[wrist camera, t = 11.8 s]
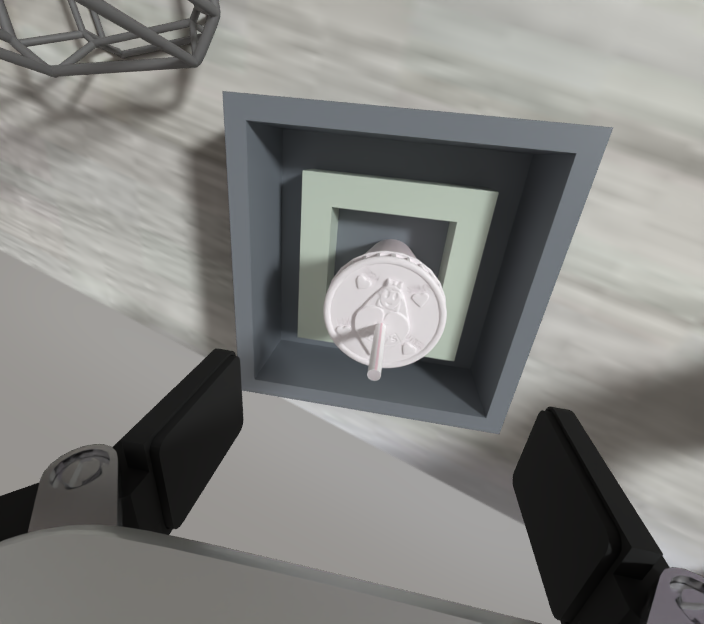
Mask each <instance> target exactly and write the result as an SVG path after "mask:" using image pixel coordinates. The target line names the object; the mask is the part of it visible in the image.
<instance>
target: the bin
mask: <svg viewBox="0 0 704 624" xmlns="http://www.w3.org/2000/svg"><path fill="white" fill-rule="evenodd" d="M223 109H224V126H225V144H226V162H227V180H228V197H229V215H230V233H231V251H232V269H233V286H234V304H235V322H236V340H237V357H239V358H240V366H241V386H242V390H243V391H249V392H255V393H260V394H266V395H272V396H278V397H284V398H290V399H296V400H301V401H307V402H313V403H319V404H325V405H331V406H337V407H343V408H348V409H354V410H360V411H366V412H372V413H378V414H384V415H389V416H395V417H401V418H407V419H413V420H419V421H425V422H431V423H436V424H442V425H448V426H454V427H460V428H466V429H472V430H477V431H483V432H489V433H495V434H500V431H501V428H502V426H503V423H504V420H505V417H506V415H507V412H508V409H509V407H510V404H511V401H512V399H513V396H514V393H515V391H516V388H517V385H518V382H519V380H520V377H521V374H522V372H523V369H524V366H525V364H526V361H527V358H528V356H529V353H530V350H531V347H532V345H533V342H534V339H535V337H536V334H537V331H538V329H539V326H540V323H541V321H542V318H543V315H544V312H545V310H546V307H547V304H548V302H549V299H550V296H551V294H552V291H553V288H554V286H555V283H556V280H557V278H558V275H559V272H560V269H561V267H562V264H563V261H564V259H565V256H566V253H567V251H568V248H569V245H570V243H571V240H572V237H573V234H574V232H575V229H576V226H577V224H578V221H579V218H580V216H581V213H582V210H583V208H584V205H585V202H586V199H587V197H588V194H589V191H590V189H591V186H592V183H593V181H594V178H595V175H596V173H597V170H598V167H599V164H600V162H601V159H602V156H603V154H604V151H605V148H606V146H607V143H608V140H609V138H610V135H611V132H612V129H613V127H602V126H591V125H580V124H570V123H559V122H548V121H537V120H527V119H516V118H505V117H495V116H484V115H473V114H462V113H452V112H441V111H430V110H419V109H409V108H398V107H387V106H377V105H366V104H355V103H344V102H334V101H323V100H312V99H301V98H291V97H280V96H269V95H259V94H248V93H237V92H226V91H223ZM386 239H395V240H399V241H401V242H403V243H405V244H406V245H407V246H408V247H409V248H410V249H411V251H412V252H413V254H414V255H415V257H416V258H417V259H418V260H419V261H421V262H422V263H423V264H424V265H426V266H427V267H428V268H430V269H431V270H432V272H433V273H434V274H435V276H436V277H437V279H438V280H439V281H440V283H441V286H442V289H443V291H444V294H445V297H446V309H447V318H446V324H445V328H444V331H443V334H442V336H441V338H440V340H439V341H438V343H437V344H436V345H435V347H434V348H433V349H432V350H431V351H430V352H429V353H428V354H426V355H425V356H424V357H422V358H421V359H419V360H417V361H415V362H413V363H411V364H408V365H405V366H401V367H395V368H382V370H381V377H380V379H379V380H376V381H373V380H370V379H369V378H368V376H367V372H368V365H365V364H362V363H360V362H357V361H355V360H354V359H352V358H350V357H349V356H347V355H346V354H345V353H343V352H342V351H341V350H340V349H339V348H338V347H337V346H336V344H335V343H334V342H333V340H332V339H331V337H330V335H329V333H328V331H327V328H326V325H325V321H324V312H323V309H324V301H325V297H326V294H327V291H328V288H329V286H330V283H331V281H332V279H333V278H334V276H335V275H336V274H337V272H338V271H339V270H340V268H341V267H343V266H344V265H345V264H347V263H348V262H349V261H351V260H352V259H353V258H356V257H358V256H361V255H363V254H365V253H366V252H367V251H368V250H369V249H371V248H372V247H373V246H374V245H375V244H376V243H378V242H380V241H382V240H386Z"/></svg>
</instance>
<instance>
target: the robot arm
mask: <svg viewBox="0 0 704 624" xmlns="http://www.w3.org/2000/svg"><path fill="white" fill-rule="evenodd" d="M242 425H243V406H242V386H241V366H240V358H239V357H237V356H236V355H235V352H233V351H229V350H223V349H214V350H213V351H212V352H211V353H210V354H209V355H208V356H207V357H206V358H205V359H204V360H203V361H202V362H201V363H200V364H199V365H198V366H197V367H196V368H195V369H193V370H192V371H191V372H190V373H189V374H188V375H187V376H186V377H185V378H184V379H183V380H182V381H181V382H180V383H179V384H178V385H177V386H176V387H175V388H173V389H172V390H171V391H170V392H169V393H168V394H167V395H166V396H165V397H164V398H163V399H162V400H161V401H160V402H159V403H158V404H157V405H156V406H155V407H154V408H153V409H152V410H151V411H150V412H149V413H148V414H146V415H145V416H144V417H143V418H142V419H141V420H140V421H139V422H138V423H137V424H136V425H135V426H134V427H133V428H132V429H131V430H130V431H129V432H128V433H127V434H126V435H125V436H124V437H123V438H122V439H121V440H120V441H118V442H117V443H116V444H115V445H114V446H113V447H111V446H107V445H104V444H93V445H87V446H83V447H80V448H77V449H74V450H72V451H70V452H68V453H66V454H64V455H62V456H60V457H59V458H58V459H57V460H55V461H54V462H53V463H51V464H50V466H49V467H48V468H47V469H46V470H45V471H44V473H43V475H42V477H41V479H40V482H39V483H37V484H34V485H31V486H28V487H25V488H22V489H19V490H16V491H13V492H11V493H8V494H5V495H2V496H0V624H540V623H537V622H533V621H529V620H525V619H521V618H516V617H513V616H509V615H504V614H501V613H497V612H493V611H488V610H485V609H480V608H476V607H472V606H468V605H464V604H460V603H456V602H451V601H448V600H443V599H440V598H435V597H431V596H427V595H423V594H419V593H415V592H411V591H407V590H403V589H398V588H394V587H390V586H386V585H382V584H378V583H373V582H369V581H365V580H361V579H357V578H352V577H348V576H344V575H340V574H336V573H332V572H327V571H323V570H319V569H315V568H310V567H306V566H302V565H298V564H293V563H289V562H285V561H281V560H277V559H272V558H268V557H263V556H259V555H255V554H251V553H246V552H242V551H238V550H233V549H229V548H225V547H221V546H217V545H212V544H208V543H203V542H198V541H194V540H189V539H184V538H179V537H175V536H170V535H169V534H170V533H171V531H172V529H177V528H178V527H180V526H181V524H182V523H183V521H184V520H185V518H186V517H187V515H188V513H189V512H190V510H191V509H192V507H193V506H194V504H195V502H196V501H197V499H198V498H199V496H200V495H201V493H202V491H203V490H204V488H205V487H206V485H207V483H208V482H209V480H210V479H211V477H212V475H213V474H214V472H215V471H216V469H217V467H218V466H219V464H220V463H221V461H222V460H223V458H224V456H225V455H226V453H227V452H228V450H229V448H230V447H231V445H232V444H233V442H234V440H235V439H236V437H237V436H238V434H239V433H240V431H241V428H242ZM513 487H514V491H515V494H516V497H517V500H518V504H519V507H520V510H521V513H522V517H523V520H524V523H525V526H526V529H527V533H528V536H529V539H530V543H531V546H532V549H533V552H534V555H535V559H536V562H537V565H538V569H539V572H540V575H541V578H542V582H543V585H544V588H545V591H546V595H547V598H548V601H549V605H550V608H551V611H552V613H553V615H554V617H555V618H556V619H557V620H560V621H561V624H704V578H703V577H702V576H700V575H698V574H696V573H694V572H691V571H688V570H686V569H683V568H676V567H671V568H670V567H669V566H668V564H667V562H666V561H665V559H664V558H663V556H662V555H663V553H662V552H661V550H660V549H659V547H658V545H657V544H656V542H655V541H654V539H653V537H652V536H651V534H650V533H649V531H648V530H647V528H646V526H645V525H644V523H643V522H642V520H641V519H640V517H639V515H638V514H637V512H636V511H635V509H634V507H633V506H632V504H631V503H630V501H629V500H628V498H627V496H626V495H625V493H624V492H623V490H622V488H621V487H620V485H619V484H618V482H617V481H616V479H615V477H614V476H613V474H612V473H611V471H610V469H609V468H608V466H607V465H606V463H605V462H604V460H603V458H602V457H601V455H600V454H599V452H598V451H597V449H596V447H595V446H594V444H593V443H592V441H591V439H590V438H589V436H588V435H587V433H586V432H585V430H584V428H583V427H582V425H581V424H580V422H579V420H578V419H577V417H576V416H575V414H574V413H573V412H572V411H570V410H566V409H560V408H555V407H548V408H547V409H546V410H545V411H543V410H542V411H540V412H539V414H538V416H537V419H536V421H535V424H534V426H533V428H532V431H531V433H530V435H529V438H528V440H527V443H526V445H525V447H524V450H523V452H522V454H521V457H520V459H519V461H518V464H517V466H516V469H515V471H514V474H513Z"/></svg>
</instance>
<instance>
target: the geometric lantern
mask: <svg viewBox="0 0 704 624" xmlns="http://www.w3.org/2000/svg"><path fill="white" fill-rule="evenodd" d="M75 1H76V2H78V3H79V4H81V5H83V6H85V7H86V8H88V9H90V11H91V14H92V17H93V20H94V23H95V26H96V29H97V32H98V35H99V36H97V35H95V34H93V33H91V32H89V31H87V30H85V27H84V24H83V22H82V19H81V16H80V13H79V11H78V8H77V5H76V2H75ZM188 1H190V2H191V3H193V4H194V9H193V11H192V14H191V17H190V19H185V20H180V21H176V22H171V23H167V24H162V25H157V26H153V27H148V28H147V27H146V26H144V25H142V24H141V23H139V22H138V21H136V20H134V19H133V18H131V17H129V16H128V15H126V14H125V13H123V12H121V11H120V10H118V9H117V8H115V7H113V6H112V5H110V4H108V3H107V2H105V1H104V0H68V3H69V5H70V8H71V11H72V13H73V16H74V19H75V21H76V24H77V27H78V30H79V31H73V32H66V33H59V34H53V35H46V36H39V37H33V38H26V39H19V40H18V39H17V38H16V35H15V32H14V29H13V26H12V24H11V21H10V18H9V15H8V12H7V9H6V7H5V4H4V1H3V0H0V26H1V29H0V40H3V41H5V42H8V43H9V44H10V45H11V46H12V47H13V48H15V49H16V50H17V51H18V52H19V53H20V54H22V55H23V56H22V55H20V54H17V53H14V52H11V51H9V50H6V49H3V48H1V47H0V59H2V60H5V61H8V62H11V63H14V64H16V65H19V66H22V67H25V68H28V69H31V70H34V71H37V72H40V73H43V74H46V75H49V76H51V77H55V78H56V77H59V76H73V75H89V74H104V73H119V72H134V71H150V70H165V69H180V68H196V67H198V66H199V65H200V64H201V63H202V61H203V59H204V57H205V55H206V52H207V50H208V48H209V45H210V43H211V40H212V38H213V35H214V33H215V30H216V28H217V25H218V22H219V19H220V6H219V0H188ZM200 12H201V13H203V14H206V15H208V18H207V21H206V23H205V26H204V27H203V26H201V25H200V24H198V23H197V20H198V17H199V14H200ZM98 14H99V15H101V16H102V17H104V18H106V19H108V20H110V21H111V22H113V23H115V24H117V25H118V26H120V27H122V28H124V29H126V30H127V31H129V32H126V33H121V34H117V35H112V36H108V37H105V34H104V31H103V28H102V25H101V22H100V19H99V16H98ZM187 27H190V36H188V37H183V38H179V39H174V40H170V41H168V40H167V39H165V38H163V37H162V36H160V35H159V33H164V32H168V31H173V30H178V29H182V28H187ZM196 30H198V31H199V32H201V33H202V34H197V31H196ZM79 38H85V39H86V40H87V41H88V43H87V44H86V45H84V46H83V47H82V48H80V49H79V50H78V51H76V52H75V53H74V54H72V55H71V56H70V57H69V58H67V59H66V60H65V61H63V62H62V63H61V64H59V65H52V66H50V65H48V64H47V63H46V62H44V61H43V60H42V59H41V58H39V57H38V56H37V55H36V54H34V53H33V52H32V51H31V50H30V49H28V48H27V47H29V46H35V45H42V44H48V43H54V42H60V41H67V40H73V39H79ZM136 38H141V39H143V40H145V41H147V42H149V43H150V44H151V45H147V46H142V47H138V48H133V49H129V50H124V51H121V50H120V49H119V48H116V47H113V46H111V45H109V44H113V43H118V42H122V41H127V40H131V39H136ZM190 43H191V48H192V55H191V54H190V53H188V52H186V51H185V50H183V49H181V48H180V47H178V46H181V45H185V44H190ZM95 48H100V49H103V50H106V51H109V52H112V53H114V54H116V55H117V56H119V57H121V58H125V57H129V56H134V55H139V54H143V53H148V52H153V51H157V50H163V51H165V52H167V53H168V54H170V55H172V56H174V57H168V58H154V59H139V60H125V61H110V62H96V63H81V64H75V63H77V62H78V61H79V60H80V59H82V58H83V57H84V56H86V55H87V54H88V53H89V52H91V51H92V50H93V49H95Z"/></svg>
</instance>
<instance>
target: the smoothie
mask: <svg viewBox="0 0 704 624" xmlns="http://www.w3.org/2000/svg"><path fill="white" fill-rule="evenodd" d="M323 312H324V321H325V325H326V328H327V331H328V333H329V335H330V337H331V339H332V340H333V342H334V343H335V344H336V346H337V347H338V348H339V349H340V350H341V351H342V352H343V353H345V354H346V355H347V356H349V357H350V358H352V359H354V360H355V361H357V362H360V363H362V364H365V365H368V372H367V376H368V378H369V379H370V380H373V381H376V380H379V379H380V377H381V370H382V368H395V367H401V366H405V365H408V364H411V363H413V362H415V361H417V360H419V359H421V358H422V357H424V356H425V355H426V354H428V353H429V352H430V351H431V350H432V349H433V348H434V347H435V345H436V344H437V343H438V341H439V340H440V338H441V336H442V334H443V331H444V328H445V324H446V318H447V309H446V297H445V294H444V291H443V289H442V286H441V283H440V281H439V280H438V279H437V277H436V276H435V274H434V273H433V272H432V270H431V269H430V268H428V267H427V266H426V265H424V264H423V263H422V262H421V261H419V260H418V259H417V258H416V257H415V255H414V254H413V252H412V251H411V249H410V248H409V247H408V246H407V245H406V244H405V243H403V242H401V241H399V240H395V239H386V240H382V241H380V242H378V243H376V244H375V245H374V246H373V247H372V248H371V249H369V250H368V251H367V252H366V253H365V254H363V255H361V256H358V257H356V258H353V259H352V260H351V261H349V262H348V263H347V264H345V265H344V266H343V267H341V268H340V270H339V271H338V272H337V274H336V275H335V276H334V278H333V279H332V281H331V283H330V286H329V288H328V291H327V294H326V297H325V301H324V309H323Z"/></svg>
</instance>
